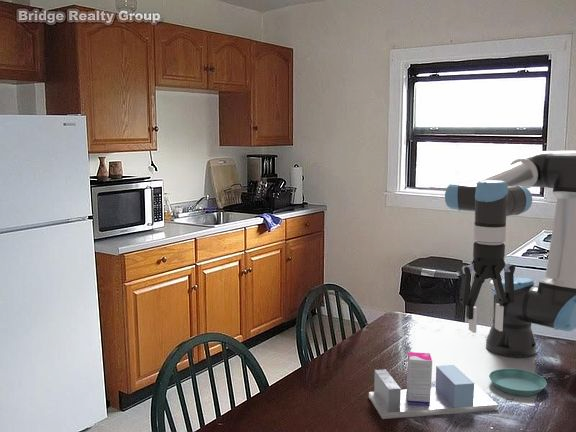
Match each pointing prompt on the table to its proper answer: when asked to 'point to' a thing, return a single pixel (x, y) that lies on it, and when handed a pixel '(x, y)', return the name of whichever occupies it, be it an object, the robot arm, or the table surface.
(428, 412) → the base
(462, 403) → the block
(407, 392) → the supplement box
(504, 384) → the saucer
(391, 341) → the table surface
